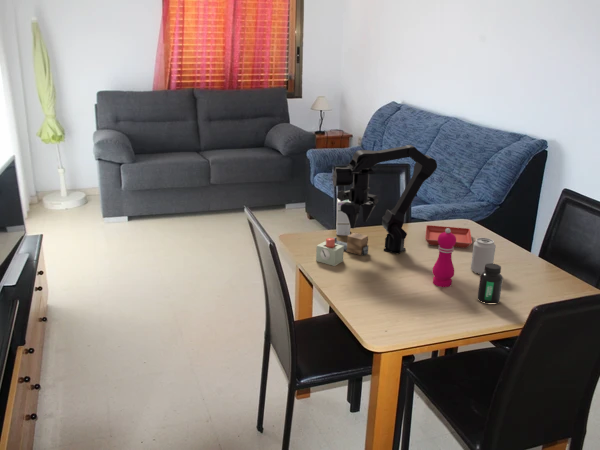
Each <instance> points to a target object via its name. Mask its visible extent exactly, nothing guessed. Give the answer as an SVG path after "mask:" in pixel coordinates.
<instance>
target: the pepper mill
mask: <svg viewBox="0 0 600 450" xmlns="http://www.w3.org/2000/svg"><path fill="white" fill-rule="evenodd" d="M450 232H451V230H450V229H449V228H447V229H446V230H445V232H443V233H441V234H440V235H439V236H438V243H439V246H438V245H437V246H438V248H437V249H438V251H439V252H438V256H437V260H436V261H435V263H434V265H433V267H432V272H431V273H432V275H433V277H432V284H433V285H434V286H436V287H439V288H450V287H452V284H453V280H452V278H453V277H454V276H455V268H454V263H453V261H452V254H453V252H454V249H455V247H453V246H454V245H455V244H456V237H455V235H454V234H452V233H450Z"/></svg>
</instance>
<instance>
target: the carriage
mask: <svg viewBox="0 0 600 450" xmlns="http://www.w3.org/2000/svg"><path fill="white" fill-rule="evenodd" d="M368 240H369V235H366V234H361V233H357V232H353V233H350V235H347V242H346V243H347V251H346V252H347V253H351V254H355V255H359V256H363V255H362V250H363V247H364V246H366V245H368V243H369V242H368Z"/></svg>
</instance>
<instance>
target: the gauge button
mask: <svg viewBox="0 0 600 450" xmlns="http://www.w3.org/2000/svg"><path fill="white" fill-rule="evenodd" d="M325 241H326V247H328V248H334V247H335V239H334V237H327V238H325Z"/></svg>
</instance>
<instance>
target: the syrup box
mask: <svg viewBox="0 0 600 450" xmlns="http://www.w3.org/2000/svg"><path fill="white" fill-rule="evenodd" d="M346 202H350V201H349V200H344V201H342V202H340V200H339V199H338V198H337V197H336V226H335V229H336V230H335V233H336V236H349V235H351V226H350V223H349V219H348V216H347V215H346V214H345V213H343V212H342V211H340V207H341V205H342V204H344V203H346Z"/></svg>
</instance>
